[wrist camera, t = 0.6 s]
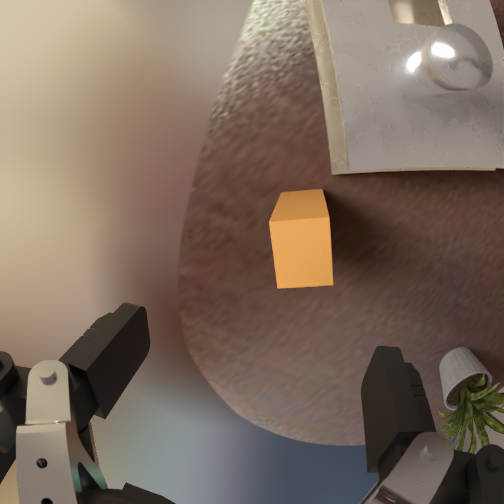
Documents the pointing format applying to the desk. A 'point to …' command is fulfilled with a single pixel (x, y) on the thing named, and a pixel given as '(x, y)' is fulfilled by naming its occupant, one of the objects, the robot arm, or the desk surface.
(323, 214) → the orange rectangular prism
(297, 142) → the desk surface
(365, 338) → the desk surface
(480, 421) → the house plant
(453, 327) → the desk surface
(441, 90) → the two-tier square platform
